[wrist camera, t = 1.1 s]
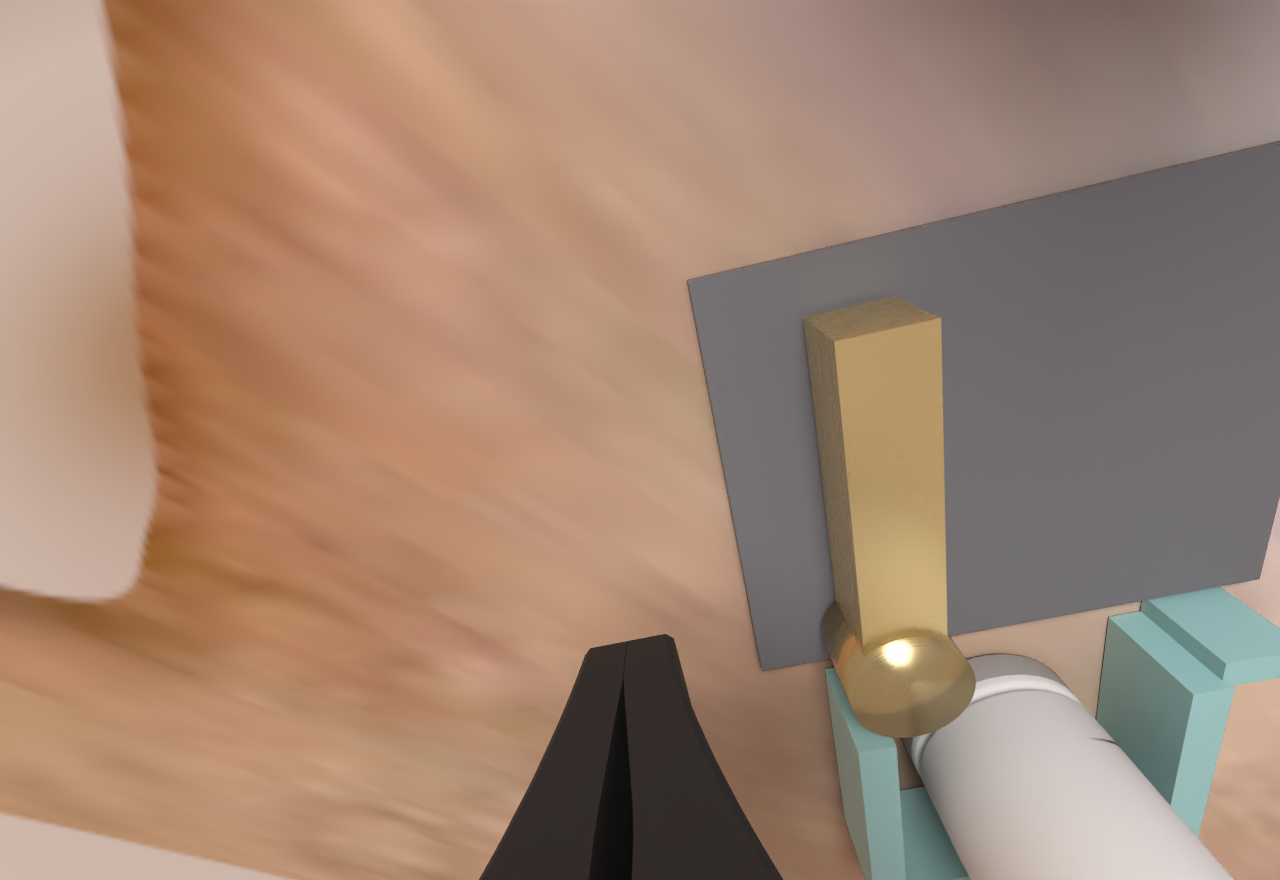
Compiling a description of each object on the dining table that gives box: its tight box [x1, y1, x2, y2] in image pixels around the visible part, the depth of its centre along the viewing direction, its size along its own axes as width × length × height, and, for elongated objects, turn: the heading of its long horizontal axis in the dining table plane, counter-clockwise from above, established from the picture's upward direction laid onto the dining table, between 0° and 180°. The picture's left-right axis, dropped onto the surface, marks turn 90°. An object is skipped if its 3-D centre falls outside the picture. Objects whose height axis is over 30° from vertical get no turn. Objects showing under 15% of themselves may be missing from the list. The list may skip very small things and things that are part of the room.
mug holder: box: [825, 587, 1280, 880], centre depth 22 cm, size 14×9×4 cm
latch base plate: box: [687, 141, 1280, 671], centre depth 18 cm, size 17×14×1 cm
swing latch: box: [803, 296, 976, 738], centre depth 17 cm, size 13×4×3 cm, turn 13°
